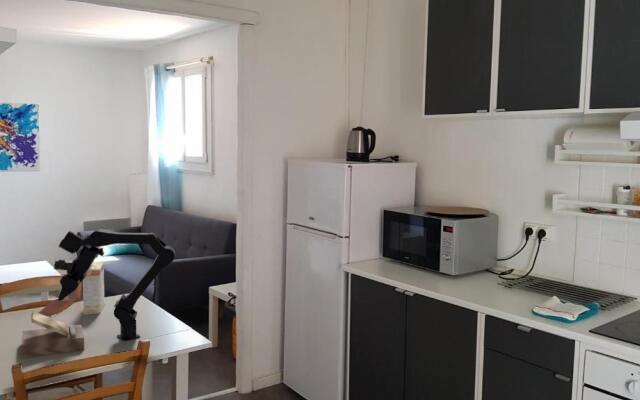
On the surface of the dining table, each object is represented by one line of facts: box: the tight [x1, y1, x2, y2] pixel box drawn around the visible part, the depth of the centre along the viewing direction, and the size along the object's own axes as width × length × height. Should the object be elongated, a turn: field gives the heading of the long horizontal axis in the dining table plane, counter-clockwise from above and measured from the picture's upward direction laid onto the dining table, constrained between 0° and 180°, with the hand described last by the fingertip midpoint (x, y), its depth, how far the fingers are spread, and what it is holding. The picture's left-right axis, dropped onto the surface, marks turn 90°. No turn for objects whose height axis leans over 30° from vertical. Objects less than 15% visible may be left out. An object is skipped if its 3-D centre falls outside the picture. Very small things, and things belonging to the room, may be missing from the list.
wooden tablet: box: [38, 298, 78, 316], centre depth 248 cm, size 27×10×2 cm, turn 4°
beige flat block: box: [21, 323, 85, 359], centre depth 202 cm, size 20×15×6 cm
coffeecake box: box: [82, 261, 105, 315], centre depth 247 cm, size 15×7×20 cm, turn 14°
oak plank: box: [30, 310, 69, 336], centre depth 201 cm, size 13×10×1 cm
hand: (62, 296), depth 207 cm, fingers open, 9 cm apart
